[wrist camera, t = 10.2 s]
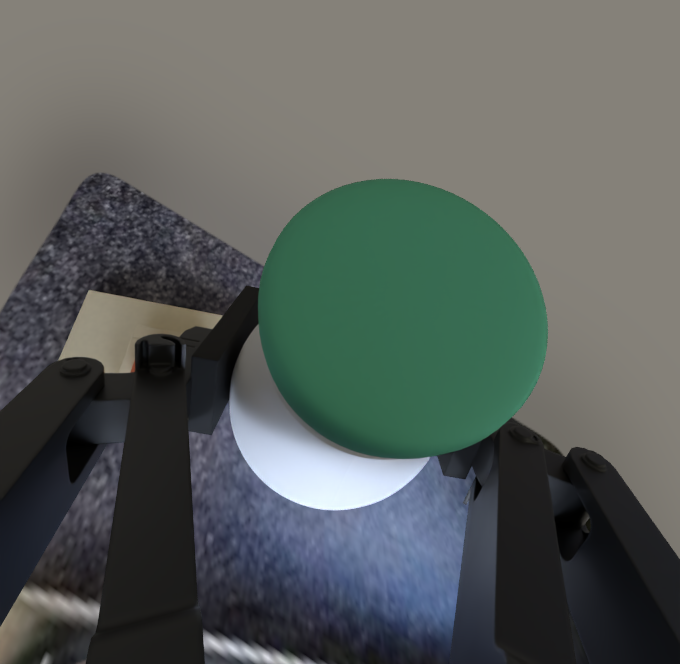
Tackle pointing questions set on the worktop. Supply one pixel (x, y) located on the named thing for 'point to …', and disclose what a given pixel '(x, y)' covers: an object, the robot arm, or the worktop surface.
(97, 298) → the light switch
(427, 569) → the worktop surface
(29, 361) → the worktop surface
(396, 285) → the milk bottle
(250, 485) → the worktop surface
